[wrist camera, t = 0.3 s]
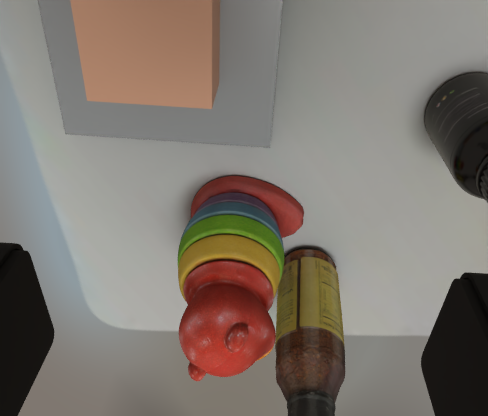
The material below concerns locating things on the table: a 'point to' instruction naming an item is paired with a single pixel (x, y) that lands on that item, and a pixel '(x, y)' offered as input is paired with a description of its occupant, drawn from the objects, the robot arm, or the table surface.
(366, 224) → the table surface
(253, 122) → the baseplate
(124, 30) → the terracotta block
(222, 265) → the stacking bear
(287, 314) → the sauce bottle
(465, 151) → the supplement bottle
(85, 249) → the table surface
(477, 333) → the robot arm
